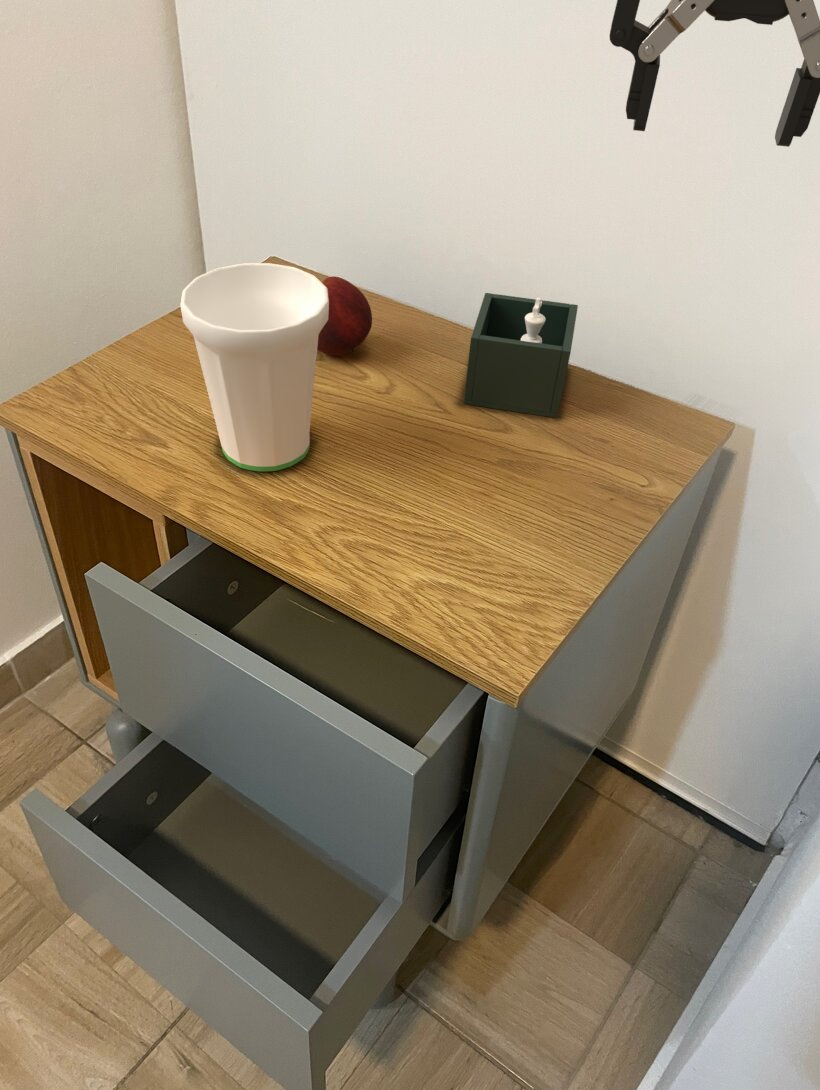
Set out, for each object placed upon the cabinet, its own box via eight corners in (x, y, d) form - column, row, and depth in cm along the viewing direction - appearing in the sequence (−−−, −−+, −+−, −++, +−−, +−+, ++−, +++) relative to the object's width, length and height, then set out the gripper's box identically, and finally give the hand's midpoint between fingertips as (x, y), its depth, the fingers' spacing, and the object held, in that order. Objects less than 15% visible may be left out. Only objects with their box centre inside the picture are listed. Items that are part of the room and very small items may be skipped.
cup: (176, 437, 85) (152, 287, 74) (282, 395, 90) (274, 249, 80) (247, 503, 78) (232, 348, 67) (357, 453, 84) (359, 302, 73)
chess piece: (493, 395, 90) (506, 304, 83) (507, 372, 94) (521, 282, 86) (539, 406, 89) (556, 315, 82) (552, 383, 92) (570, 293, 85)
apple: (326, 326, 101) (326, 258, 95) (384, 346, 98) (387, 277, 92) (289, 354, 96) (286, 284, 90) (349, 375, 93) (349, 305, 88)
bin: (564, 369, 95) (578, 304, 90) (557, 418, 89) (570, 351, 83) (477, 356, 97) (485, 292, 91) (463, 403, 90) (470, 337, 85)
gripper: (659, -230, 41) (589, 143, 52) (988, -216, 39) (839, 169, 50) (660, -237, 46) (596, 104, 58) (951, -225, 44) (823, 127, 55)
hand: (709, 134), depth 54 cm, fingers open, 8 cm apart
